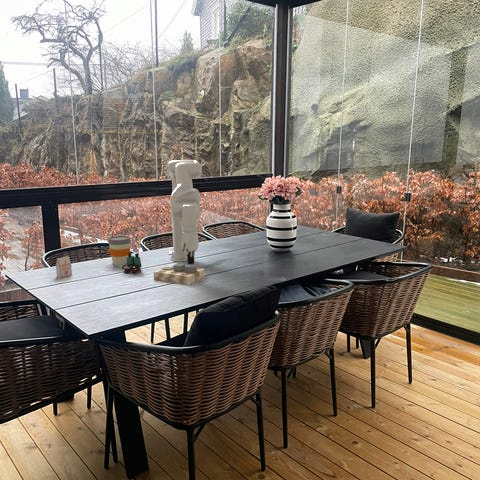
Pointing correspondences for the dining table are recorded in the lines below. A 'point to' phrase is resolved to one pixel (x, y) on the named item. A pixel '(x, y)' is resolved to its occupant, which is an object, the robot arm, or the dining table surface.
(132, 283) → the dining table surface
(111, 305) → the dining table surface
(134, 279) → the dining table surface
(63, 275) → the tea bag
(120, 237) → the reusable coffee cup
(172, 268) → the button
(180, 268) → the button
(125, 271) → the green tank cart
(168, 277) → the switch unit
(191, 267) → the button
